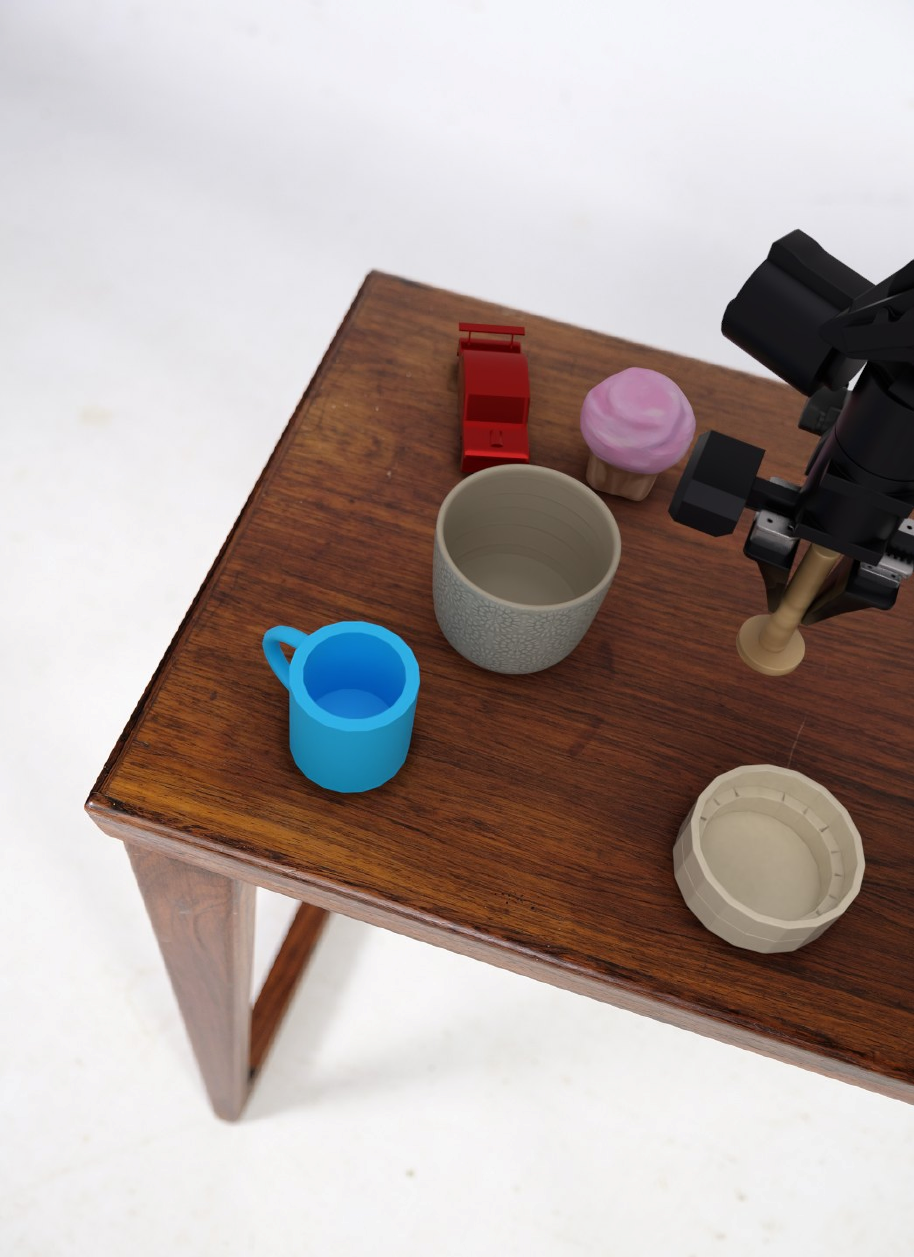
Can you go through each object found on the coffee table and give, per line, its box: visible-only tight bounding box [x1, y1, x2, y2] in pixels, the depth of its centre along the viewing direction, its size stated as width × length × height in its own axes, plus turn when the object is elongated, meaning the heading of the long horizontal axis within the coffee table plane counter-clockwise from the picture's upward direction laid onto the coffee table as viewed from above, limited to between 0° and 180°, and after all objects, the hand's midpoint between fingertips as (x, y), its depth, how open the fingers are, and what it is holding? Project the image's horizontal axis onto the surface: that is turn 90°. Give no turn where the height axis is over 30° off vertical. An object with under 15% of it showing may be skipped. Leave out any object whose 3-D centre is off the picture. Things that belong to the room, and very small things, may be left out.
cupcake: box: [579, 366, 697, 502], centre depth 93 cm, size 9×9×10 cm
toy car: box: [456, 321, 531, 474], centre depth 98 cm, size 14×6×5 cm, turn 1°
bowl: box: [672, 763, 866, 954], centre depth 77 cm, size 11×11×5 cm
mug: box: [262, 620, 421, 794], centre depth 78 cm, size 12×8×8 cm
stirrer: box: [735, 542, 842, 677], centre depth 74 cm, size 4×4×11 cm
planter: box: [432, 464, 622, 675], centre depth 83 cm, size 12×12×11 cm
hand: (789, 613), depth 75 cm, fingers closed on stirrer, 2 cm apart
